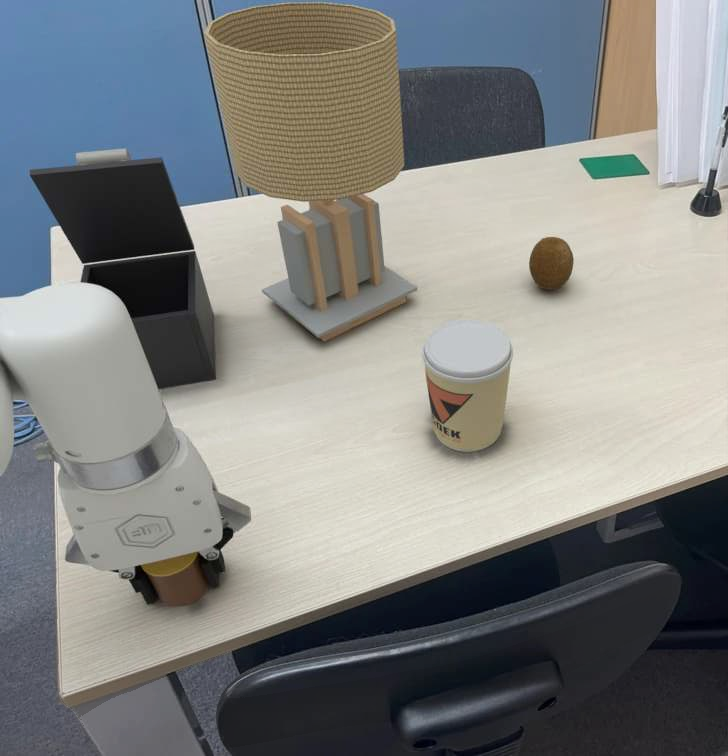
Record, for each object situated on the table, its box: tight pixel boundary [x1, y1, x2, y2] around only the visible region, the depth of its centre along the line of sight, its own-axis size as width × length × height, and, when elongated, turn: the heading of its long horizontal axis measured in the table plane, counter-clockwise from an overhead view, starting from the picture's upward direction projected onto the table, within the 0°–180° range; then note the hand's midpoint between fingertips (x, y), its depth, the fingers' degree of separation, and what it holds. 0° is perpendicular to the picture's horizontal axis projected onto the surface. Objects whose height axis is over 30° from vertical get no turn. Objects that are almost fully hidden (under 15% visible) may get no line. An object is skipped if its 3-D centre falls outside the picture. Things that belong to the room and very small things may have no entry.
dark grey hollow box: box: [79, 250, 217, 390], centre depth 85 cm, size 14×13×10 cm
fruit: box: [528, 236, 575, 290], centre depth 100 cm, size 6×6×8 cm
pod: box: [141, 551, 210, 607], centre depth 63 cm, size 5×5×5 cm
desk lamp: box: [203, 1, 418, 343], centre depth 86 cm, size 20×20×35 cm
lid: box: [29, 147, 195, 265], centre depth 81 cm, size 14×13×5 cm
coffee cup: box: [421, 318, 514, 453], centre depth 76 cm, size 9×9×12 cm
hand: (183, 581), depth 64 cm, fingers closed on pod, 4 cm apart
